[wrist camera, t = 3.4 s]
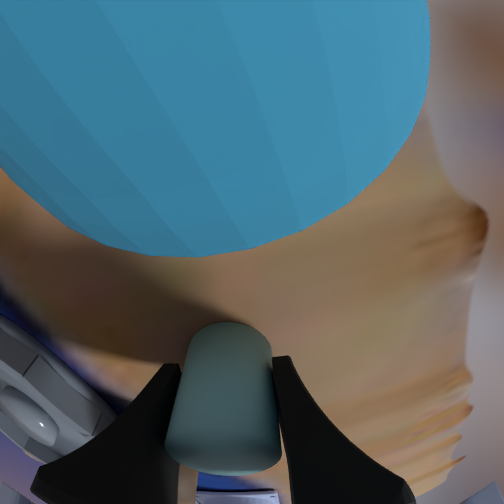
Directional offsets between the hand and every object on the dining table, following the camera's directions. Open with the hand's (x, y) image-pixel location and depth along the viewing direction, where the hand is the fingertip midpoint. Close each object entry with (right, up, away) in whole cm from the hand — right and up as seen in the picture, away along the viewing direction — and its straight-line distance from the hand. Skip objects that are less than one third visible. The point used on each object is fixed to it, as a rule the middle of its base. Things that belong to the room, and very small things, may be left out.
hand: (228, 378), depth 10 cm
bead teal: (0, +1, +1) cm, 1 cm away
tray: (-16, -7, +4) cm, 18 cm away
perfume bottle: (0, +11, -2) cm, 11 cm away
